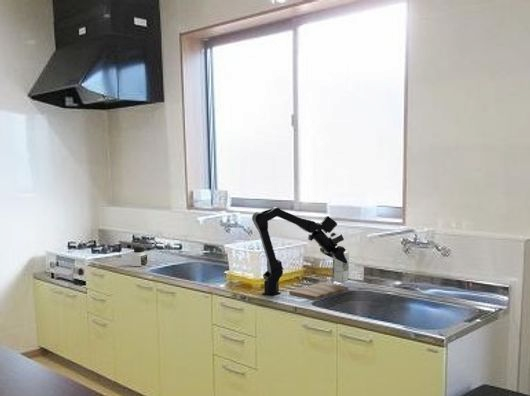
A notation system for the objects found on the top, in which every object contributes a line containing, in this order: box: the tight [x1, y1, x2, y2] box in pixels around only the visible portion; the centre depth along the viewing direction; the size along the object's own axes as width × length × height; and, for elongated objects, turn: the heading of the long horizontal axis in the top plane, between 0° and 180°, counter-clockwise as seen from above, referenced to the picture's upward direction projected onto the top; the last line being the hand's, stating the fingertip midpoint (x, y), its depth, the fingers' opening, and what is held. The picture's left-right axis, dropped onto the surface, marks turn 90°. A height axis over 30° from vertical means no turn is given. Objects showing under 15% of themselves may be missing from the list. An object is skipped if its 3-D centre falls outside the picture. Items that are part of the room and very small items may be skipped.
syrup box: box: [332, 251, 350, 283], centre depth 261 cm, size 6×6×14 cm
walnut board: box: [289, 281, 349, 301], centre depth 253 cm, size 24×16×2 cm, turn 134°
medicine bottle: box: [130, 245, 148, 267], centre depth 329 cm, size 7×7×12 cm
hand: (343, 261), depth 261 cm, fingers closed on syrup box, 7 cm apart
